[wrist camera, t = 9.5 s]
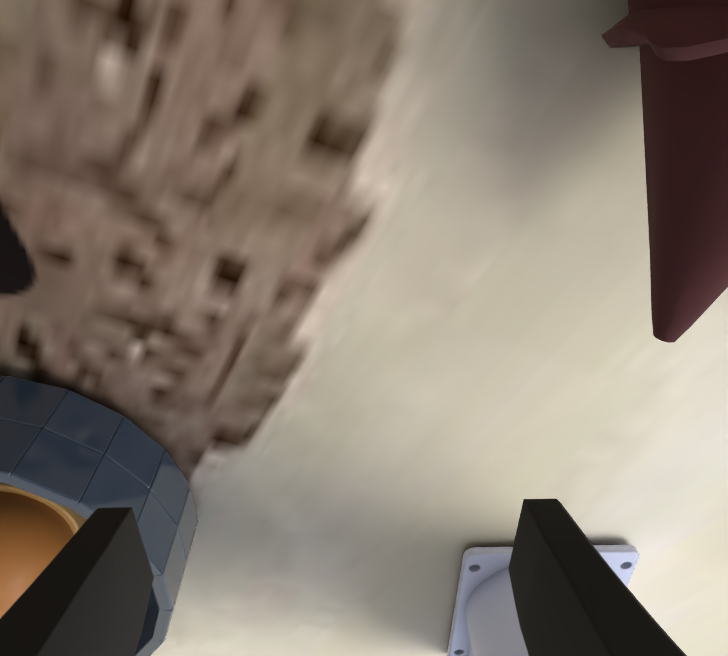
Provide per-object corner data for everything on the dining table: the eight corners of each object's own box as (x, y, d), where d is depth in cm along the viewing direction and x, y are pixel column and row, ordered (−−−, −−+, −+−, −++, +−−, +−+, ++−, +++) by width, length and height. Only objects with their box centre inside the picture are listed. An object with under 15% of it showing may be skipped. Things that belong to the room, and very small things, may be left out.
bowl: (217, 587, 26) (195, 689, 23) (-61, 592, 26) (-132, 697, 22) (170, 365, 20) (128, 456, 16) (-207, 367, 19) (-344, 461, 15)
